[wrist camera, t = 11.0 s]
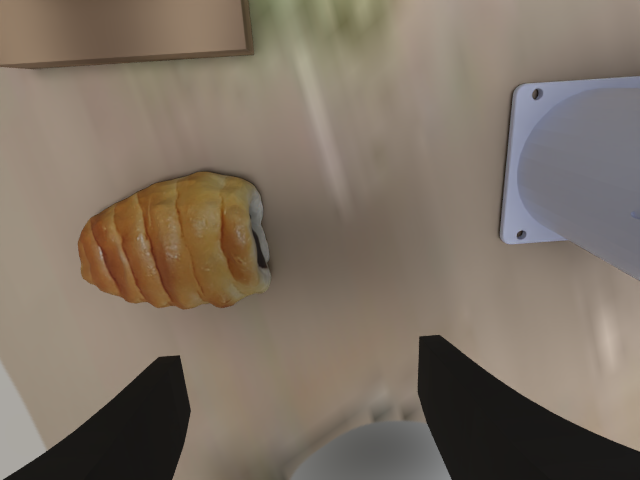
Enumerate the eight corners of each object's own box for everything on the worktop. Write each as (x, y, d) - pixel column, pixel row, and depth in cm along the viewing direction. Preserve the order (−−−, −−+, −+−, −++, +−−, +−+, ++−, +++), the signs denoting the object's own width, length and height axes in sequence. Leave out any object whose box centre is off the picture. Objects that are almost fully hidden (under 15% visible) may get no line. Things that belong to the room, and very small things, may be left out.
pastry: (114, 306, 23) (80, 345, 20) (72, 189, 21) (24, 209, 17) (280, 280, 23) (276, 315, 20) (255, 159, 21) (246, 174, 17)
